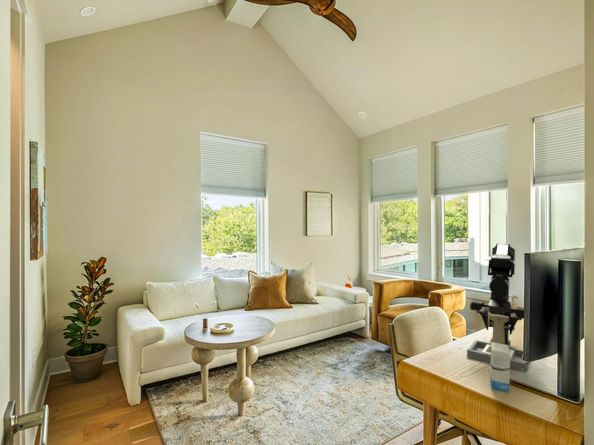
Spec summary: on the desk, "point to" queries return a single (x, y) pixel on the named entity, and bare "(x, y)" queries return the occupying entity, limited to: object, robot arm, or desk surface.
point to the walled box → (484, 353)
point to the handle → (498, 327)
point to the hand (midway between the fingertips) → (498, 332)
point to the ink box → (500, 367)
